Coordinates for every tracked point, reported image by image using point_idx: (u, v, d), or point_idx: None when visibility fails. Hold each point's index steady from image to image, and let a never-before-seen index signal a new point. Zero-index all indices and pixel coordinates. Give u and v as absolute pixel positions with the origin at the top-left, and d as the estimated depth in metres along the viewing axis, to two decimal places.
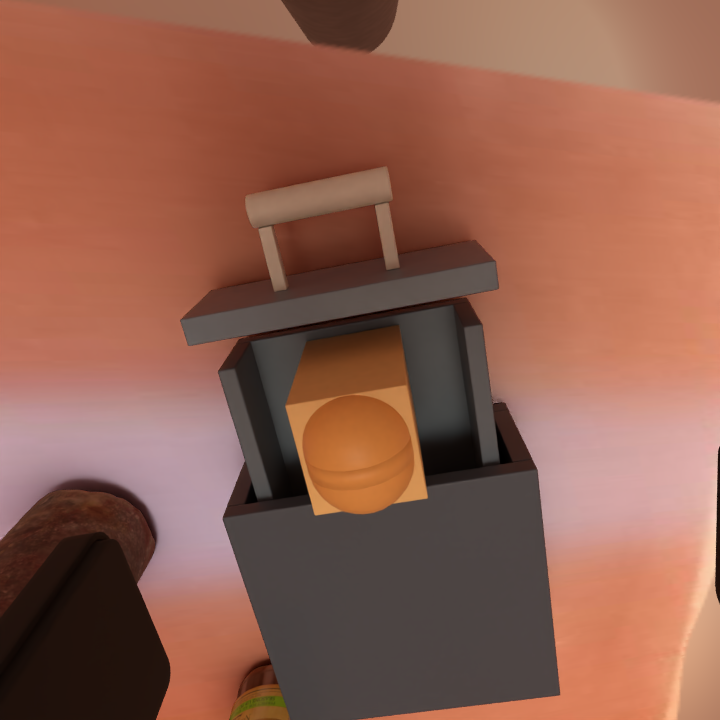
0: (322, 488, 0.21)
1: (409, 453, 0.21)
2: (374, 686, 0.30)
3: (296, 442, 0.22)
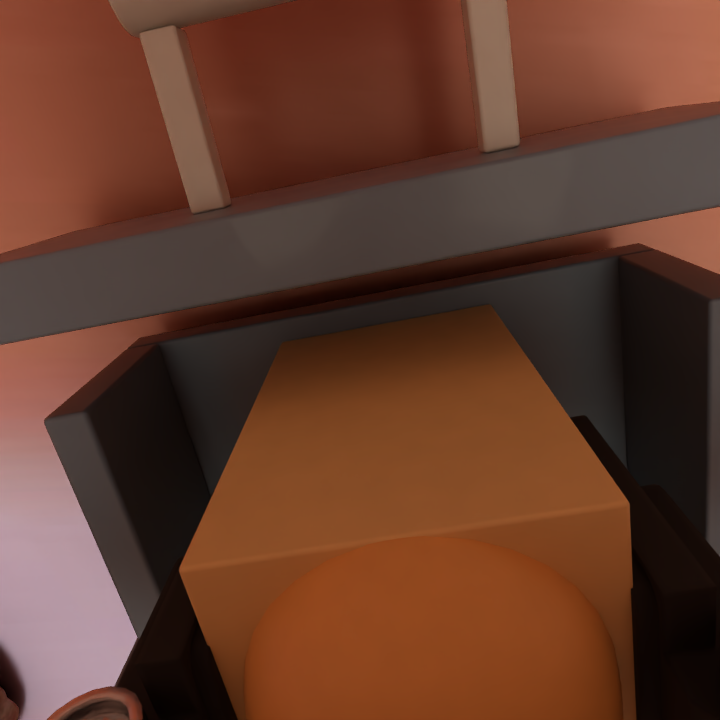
0: None
1: None
2: None
3: (224, 681, 0.07)
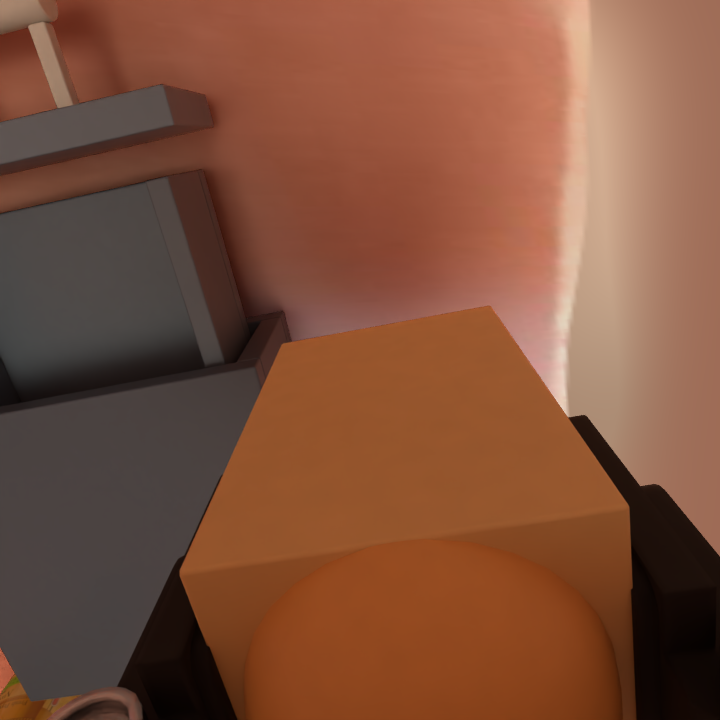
0: None
1: None
2: (115, 650, 0.25)
3: (224, 684, 0.07)
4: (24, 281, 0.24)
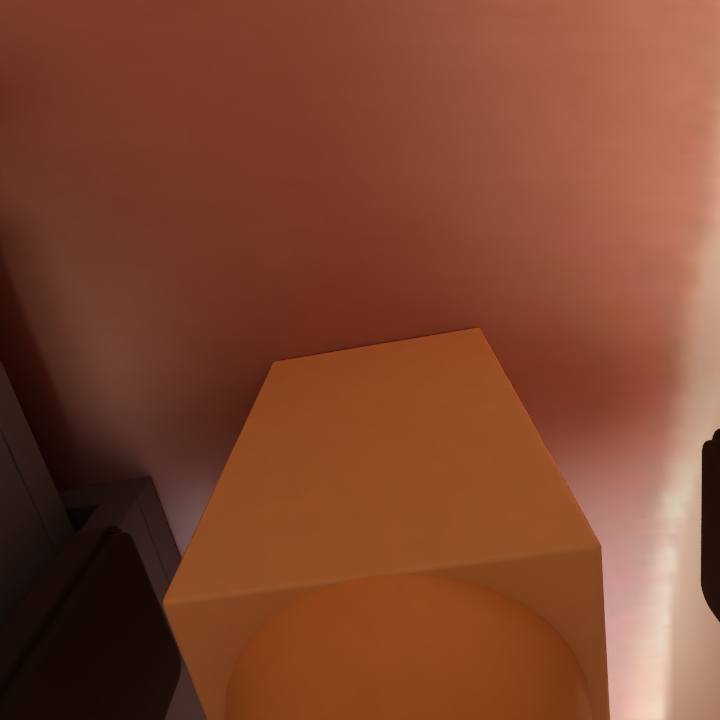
0: None
1: None
2: None
3: (206, 710, 0.07)
4: None
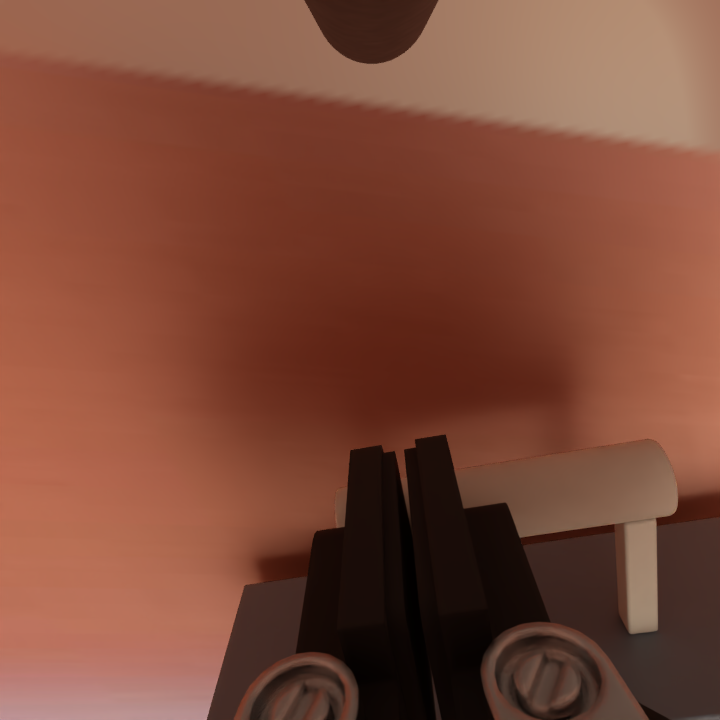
0: None
1: None
2: None
3: None
4: None
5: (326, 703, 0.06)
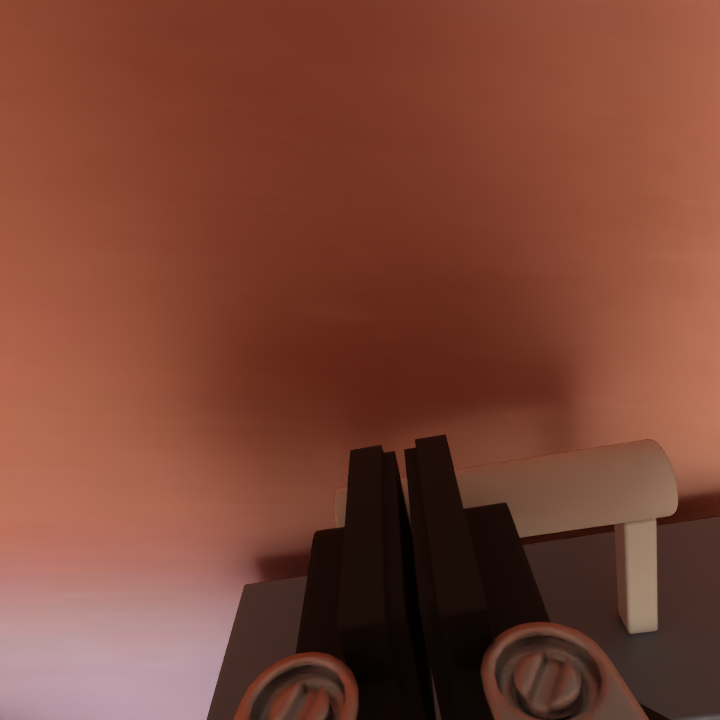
0: None
1: None
2: None
3: None
4: None
5: (326, 703, 0.06)
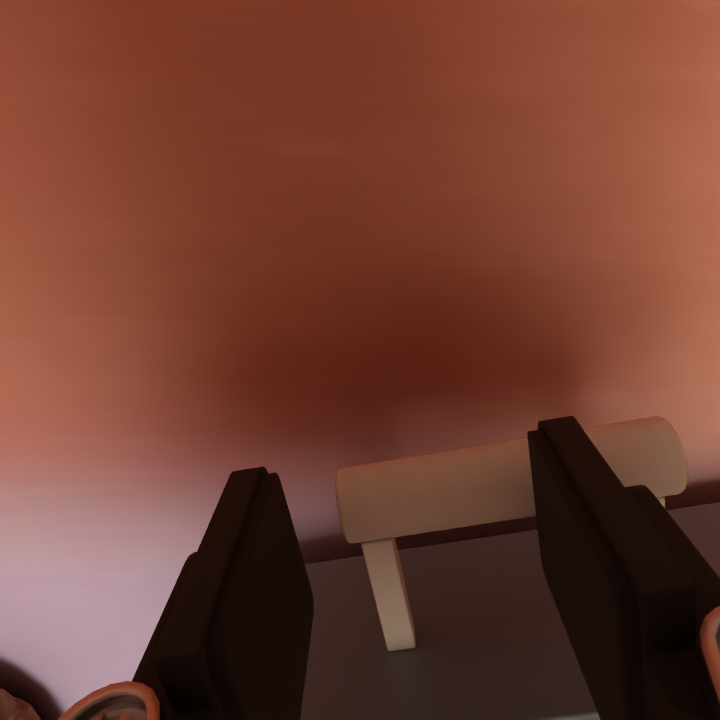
0: None
1: None
2: None
3: None
4: None
5: None
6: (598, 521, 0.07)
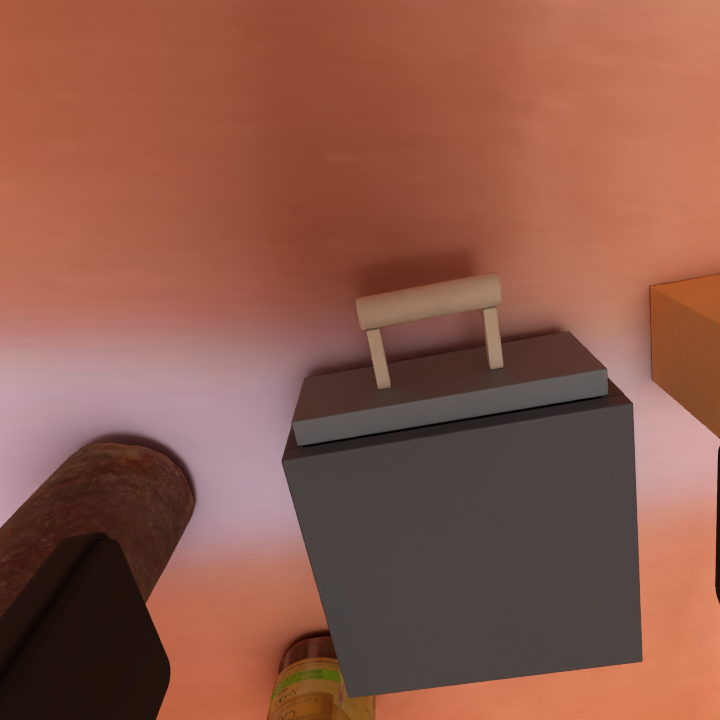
0: None
1: None
2: (439, 652, 0.28)
3: None
4: None
5: None
6: None
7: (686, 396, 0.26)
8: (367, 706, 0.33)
